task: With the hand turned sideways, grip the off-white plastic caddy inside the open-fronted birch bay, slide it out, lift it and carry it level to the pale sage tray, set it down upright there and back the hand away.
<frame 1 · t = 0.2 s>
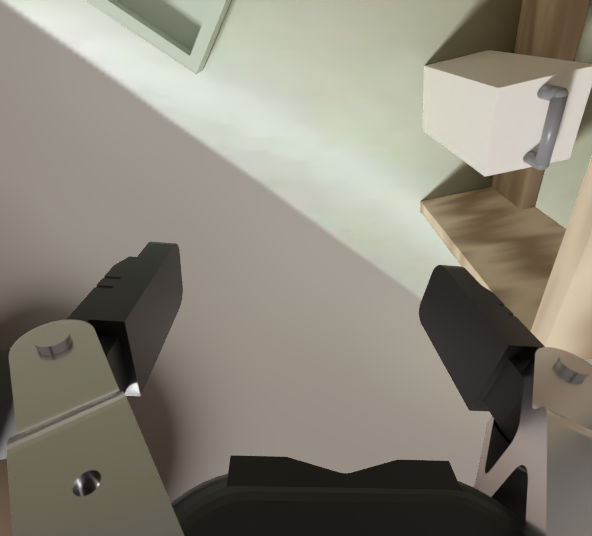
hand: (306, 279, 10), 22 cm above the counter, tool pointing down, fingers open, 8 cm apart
caddy: (453, 92, 27), on the counter
bay: (453, 92, 27), on the counter
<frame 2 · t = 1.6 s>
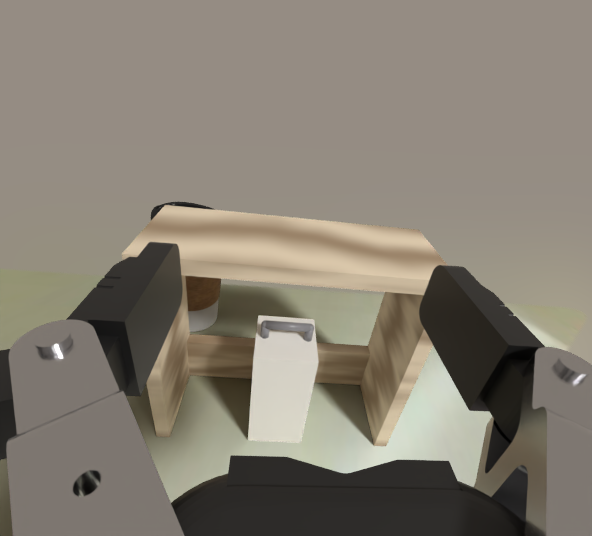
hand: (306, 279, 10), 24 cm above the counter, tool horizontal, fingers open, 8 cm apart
caddy: (275, 417, 33), on the counter
bay: (275, 416, 33), on the counter
coffee cup: (195, 317, 44), on the counter
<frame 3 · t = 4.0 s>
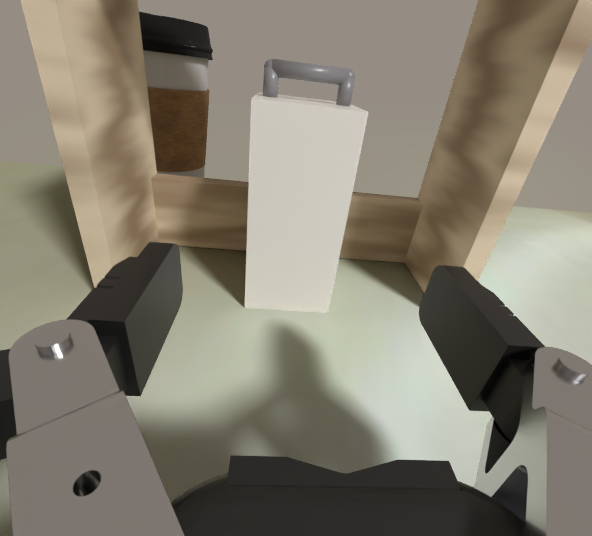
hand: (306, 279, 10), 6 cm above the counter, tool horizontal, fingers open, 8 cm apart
caddy: (286, 286, 21), on the counter
bay: (286, 286, 21), on the counter
coffee cup: (173, 201, 33), on the counter
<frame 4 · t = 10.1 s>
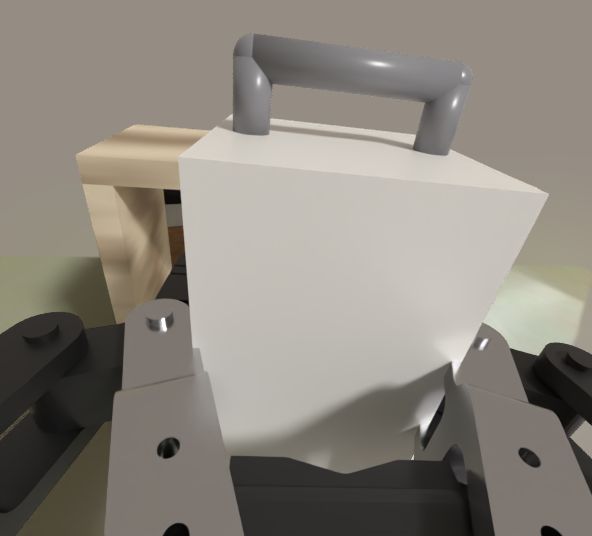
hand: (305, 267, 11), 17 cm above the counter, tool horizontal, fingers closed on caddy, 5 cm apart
caddy: (289, 454, 12), point 11 cm above the counter, touching gripper
bay: (289, 396, 27), on the counter
coffee cup: (178, 295, 37), on the counter
when the fingers open (8 cm above the counter, at t = 13.7 s): caddy drops 1 cm, resting on tray.
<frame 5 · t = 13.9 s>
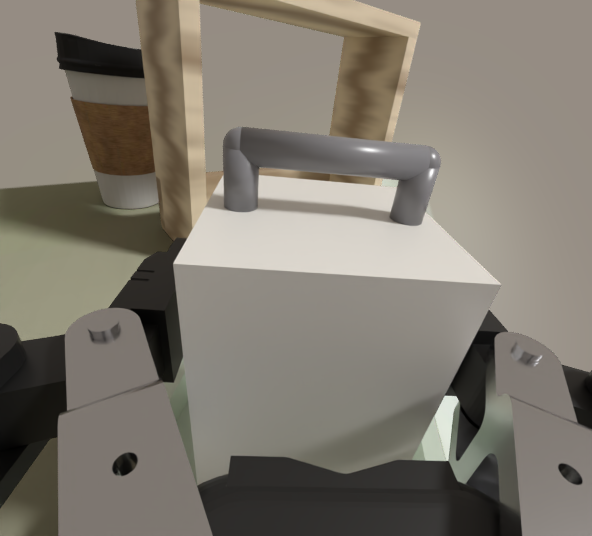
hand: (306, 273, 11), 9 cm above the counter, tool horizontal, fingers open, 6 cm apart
tray: (283, 483, 13), on the counter
caddy: (283, 478, 13), point 1 cm above the counter, touching tray
bay: (285, 231, 34), on the counter
coffee cup: (133, 201, 37), on the counter
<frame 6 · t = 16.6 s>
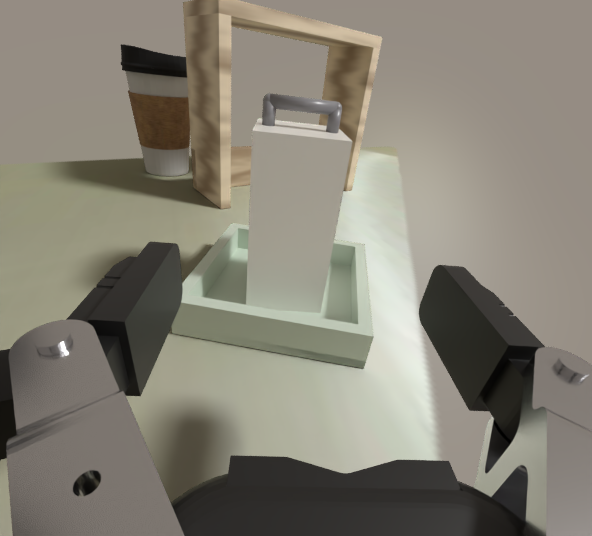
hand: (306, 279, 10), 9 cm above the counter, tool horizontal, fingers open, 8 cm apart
tray: (283, 295, 24), on the counter
caddy: (283, 289, 24), point 1 cm above the counter, touching tray
bay: (284, 192, 45), on the counter
coffee cup: (167, 171, 48), on the counter
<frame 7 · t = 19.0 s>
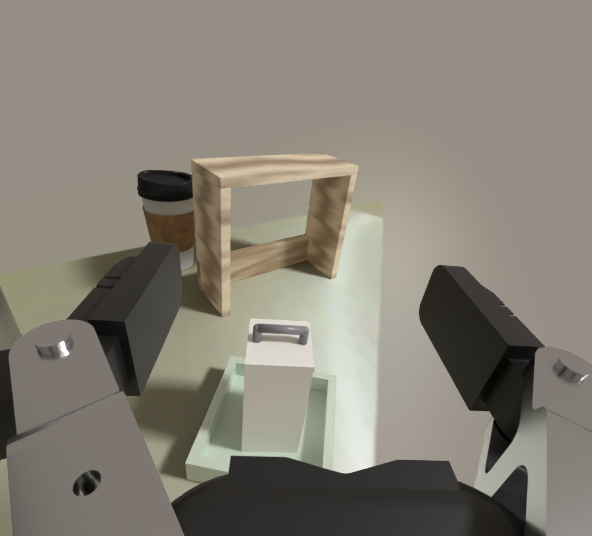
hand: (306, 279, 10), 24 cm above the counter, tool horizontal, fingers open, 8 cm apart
tray: (270, 428, 31), on the counter
caddy: (270, 425, 31), point 1 cm above the counter, touching tray
bay: (276, 286, 52), on the counter
coffee cup: (175, 263, 55), on the counter
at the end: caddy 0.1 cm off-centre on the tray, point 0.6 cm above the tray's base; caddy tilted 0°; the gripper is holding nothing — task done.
